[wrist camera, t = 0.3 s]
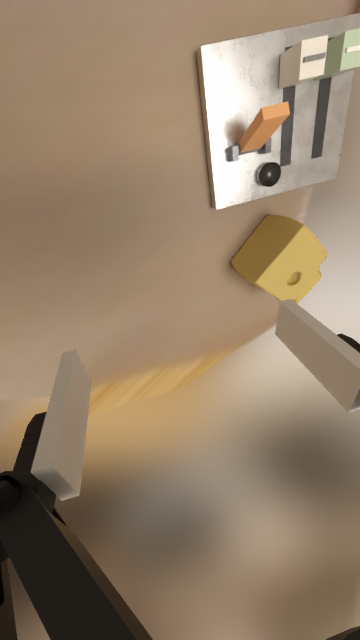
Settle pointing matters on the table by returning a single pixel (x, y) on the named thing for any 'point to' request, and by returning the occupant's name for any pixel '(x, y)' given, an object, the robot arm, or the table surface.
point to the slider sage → (342, 54)
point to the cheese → (281, 258)
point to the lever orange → (263, 127)
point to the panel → (263, 90)
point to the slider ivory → (303, 62)
